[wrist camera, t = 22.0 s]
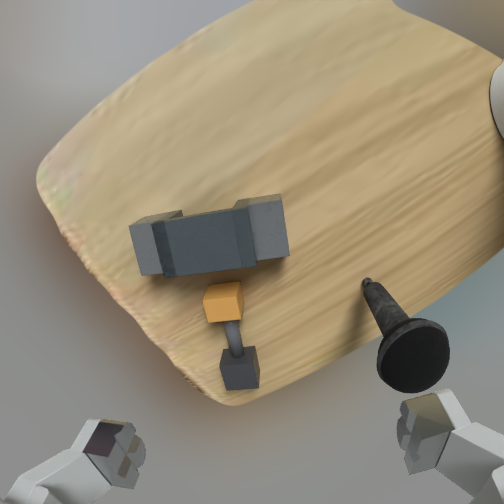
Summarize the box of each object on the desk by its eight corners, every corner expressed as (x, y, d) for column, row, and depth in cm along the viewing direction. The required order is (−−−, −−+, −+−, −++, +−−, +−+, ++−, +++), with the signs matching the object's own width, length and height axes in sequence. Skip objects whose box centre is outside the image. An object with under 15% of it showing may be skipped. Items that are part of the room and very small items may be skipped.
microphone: (398, 286, 39) (470, 378, 20) (356, 313, 41) (402, 421, 22) (376, 245, 38) (453, 325, 19) (331, 274, 39) (373, 377, 20)
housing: (280, 193, 37) (282, 202, 30) (287, 242, 39) (290, 261, 32) (144, 216, 39) (122, 229, 32) (155, 261, 40) (136, 281, 34)
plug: (241, 280, 40) (238, 296, 36) (260, 370, 45) (258, 390, 40) (207, 285, 41) (200, 300, 37) (229, 372, 45) (226, 392, 41)
